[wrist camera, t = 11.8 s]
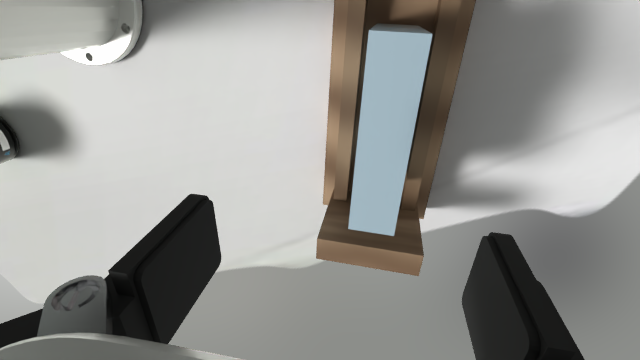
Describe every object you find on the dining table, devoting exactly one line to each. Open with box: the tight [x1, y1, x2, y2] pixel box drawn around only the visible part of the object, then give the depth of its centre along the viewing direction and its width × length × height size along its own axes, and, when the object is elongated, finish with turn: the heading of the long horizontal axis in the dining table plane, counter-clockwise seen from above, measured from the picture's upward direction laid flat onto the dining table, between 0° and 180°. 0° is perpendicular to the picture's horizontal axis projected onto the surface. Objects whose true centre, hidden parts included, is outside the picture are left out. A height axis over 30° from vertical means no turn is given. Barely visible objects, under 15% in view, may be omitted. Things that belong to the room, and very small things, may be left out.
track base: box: [316, 0, 476, 276], centre depth 24 cm, size 22×10×10 cm, turn 177°
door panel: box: [348, 23, 432, 236], centre depth 23 cm, size 12×3×10 cm, turn 177°
